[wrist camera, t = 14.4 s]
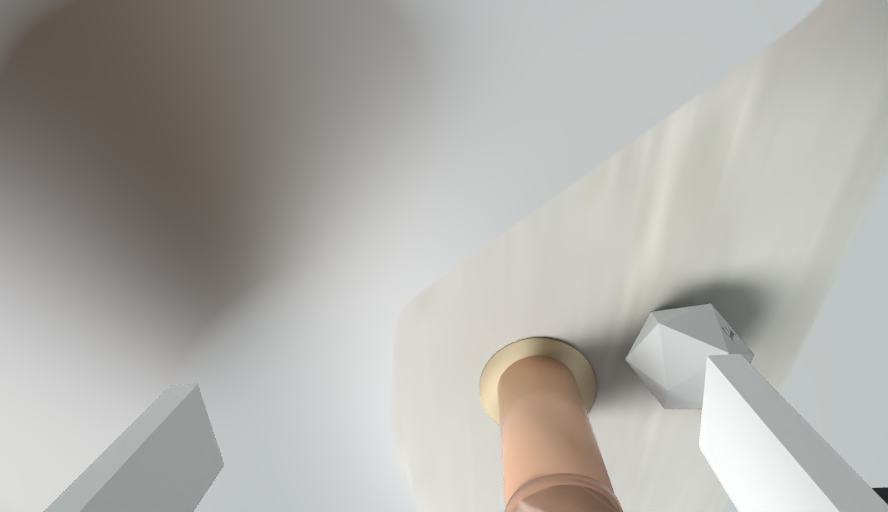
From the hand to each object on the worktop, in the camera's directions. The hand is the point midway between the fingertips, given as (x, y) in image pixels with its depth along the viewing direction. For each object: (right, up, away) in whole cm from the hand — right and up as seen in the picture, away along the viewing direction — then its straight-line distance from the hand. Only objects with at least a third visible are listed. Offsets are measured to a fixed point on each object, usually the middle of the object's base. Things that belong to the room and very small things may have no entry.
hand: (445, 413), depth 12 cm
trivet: (+9, -9, +33) cm, 35 cm away
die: (+20, -3, +31) cm, 37 cm away
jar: (+9, -9, +33) cm, 35 cm away
